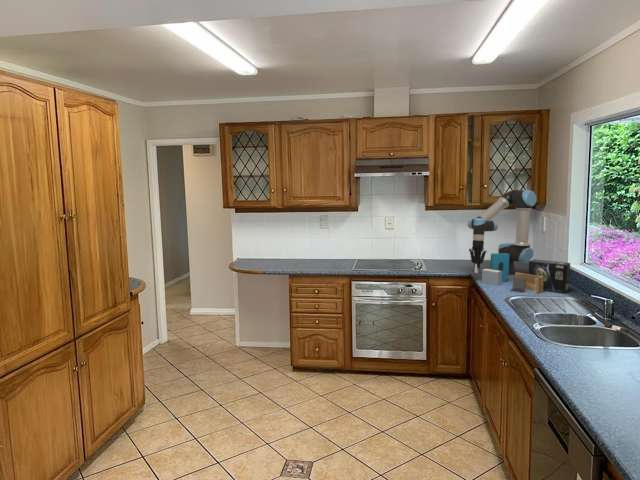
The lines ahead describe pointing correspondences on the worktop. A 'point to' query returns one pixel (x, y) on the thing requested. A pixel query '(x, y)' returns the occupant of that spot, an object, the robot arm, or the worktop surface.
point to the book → (491, 277)
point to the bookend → (519, 285)
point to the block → (504, 260)
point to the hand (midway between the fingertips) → (476, 272)
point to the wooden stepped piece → (532, 282)
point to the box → (552, 274)
